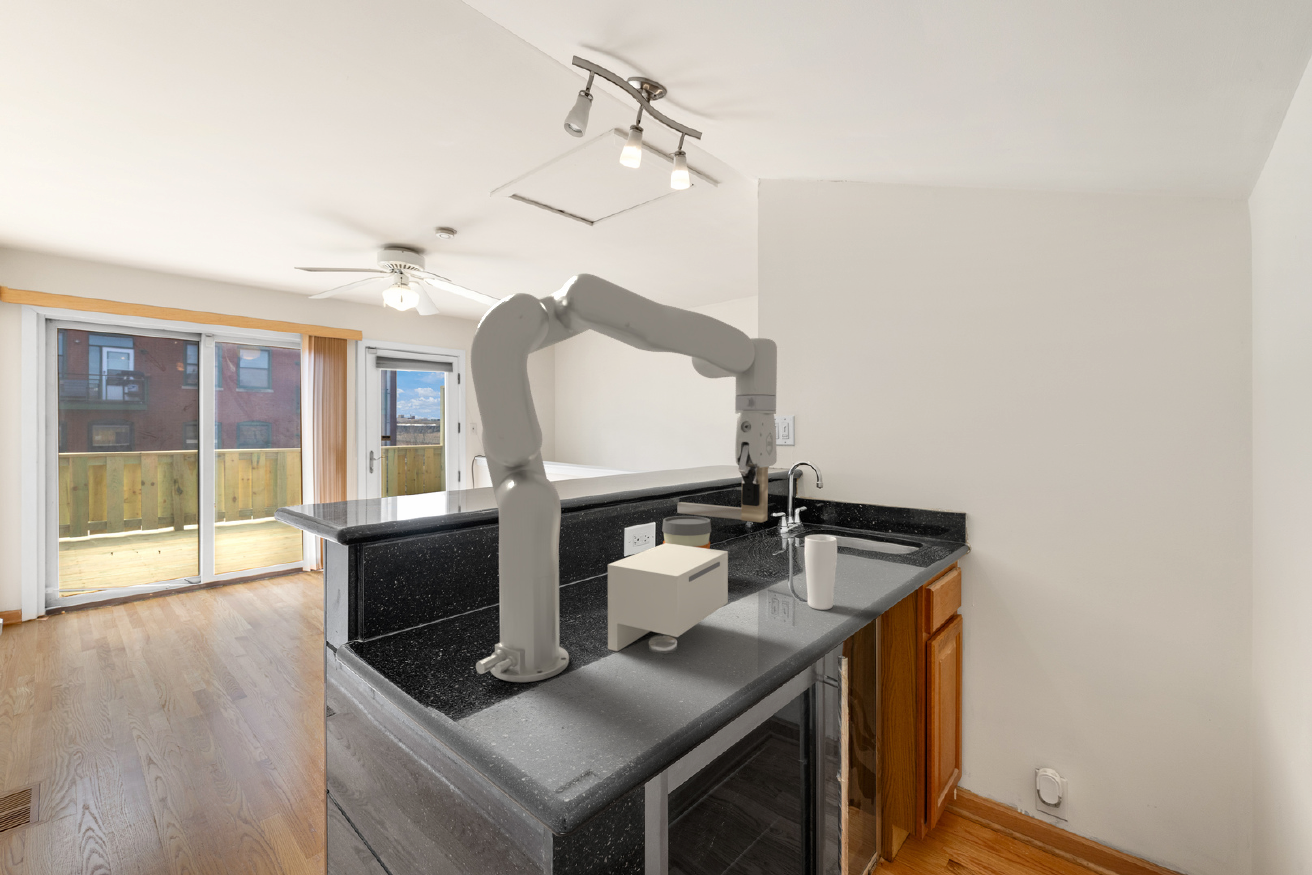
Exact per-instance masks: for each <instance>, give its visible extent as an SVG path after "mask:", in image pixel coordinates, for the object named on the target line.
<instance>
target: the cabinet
mask: <svg viewBox="0 0 1312 875" xmlns="http://www.w3.org/2000/svg"><path fill="white" fill-rule="evenodd" d="M728 576H729V551H727V550H719V549H713V548H712V549H711V548H710V549H706V548H698V547H691V546H683V545H676V544H668V543H664V544H663V543H662V544H660V545H657V546H653V547H652V548H648V549H645V550H643V551H641V552H637V553H635V554H632V555H630V556H627V557H625V558H622V559H618V560H616V561H614V562H611V563H608V564H607V649H608V650H609V651H614V652H619V651H620V650H622V649H624V648H625V647H627V646H629V645H630V644H632V643H633V642H635V641H637V640H638V639H640V638H642V637H643V636H645V635H646V634H648V633H650V632H653V633H657V634H662V635H665V636H670V637H673V638H679V637H680V636H681V635H683V634H684V633H686V632H687V631H689V630H690V629H692V628H693V627H694V626H696V625H698V624H699V623H700V622H701V621H703V620H704V619H706V618H707V617H709V616H711V615H712V614H714V613H715V612H716V611H718V610H719V609H720V608H722V607H724V606H725V605H727V604H728V602H729V599H728V598H729V596H728V594H729V592H728V590H729V589H728V588H729V586H728V585H729V582H728V581H729V580H728V579H729V577H728Z"/></svg>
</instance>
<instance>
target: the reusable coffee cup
mask: <svg viewBox="0 0 1312 875" xmlns="http://www.w3.org/2000/svg"><path fill="white" fill-rule="evenodd" d="M661 529H662V530H661V531H662V532H663V539H664V540H663V542H662V544H664V543H668V544H676V545H683V546H691V547H698V548H706V549H711V548H710V547H711V541H710V535H711V533H712V526H711V519H709V518H708V517H705V516H698V515H694V516H693V515H676V516H675V515H674V516H668V517H665V518H663V520H662V528H661Z"/></svg>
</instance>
